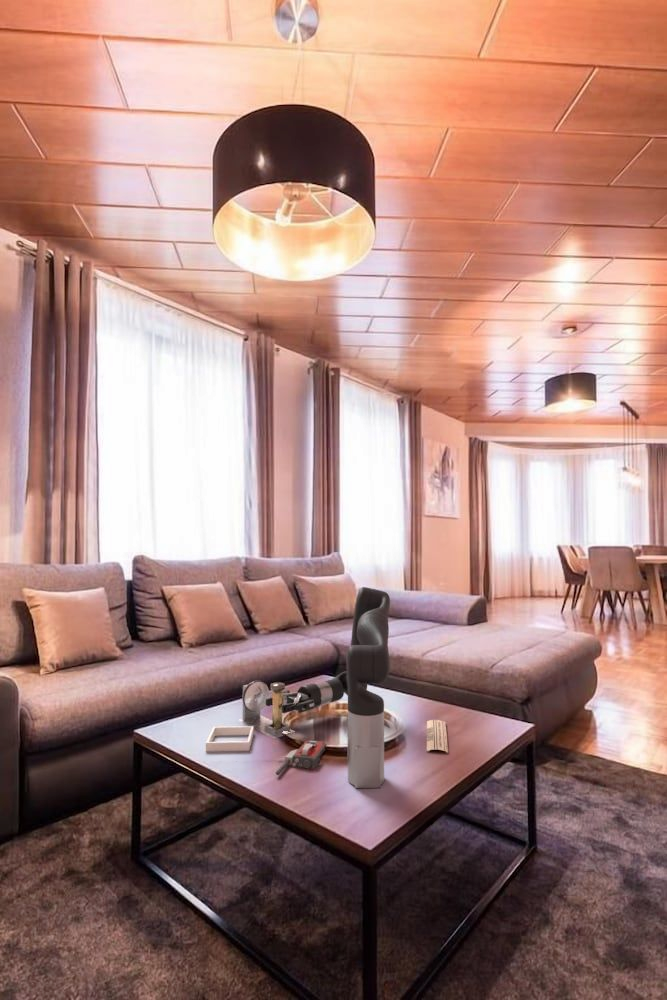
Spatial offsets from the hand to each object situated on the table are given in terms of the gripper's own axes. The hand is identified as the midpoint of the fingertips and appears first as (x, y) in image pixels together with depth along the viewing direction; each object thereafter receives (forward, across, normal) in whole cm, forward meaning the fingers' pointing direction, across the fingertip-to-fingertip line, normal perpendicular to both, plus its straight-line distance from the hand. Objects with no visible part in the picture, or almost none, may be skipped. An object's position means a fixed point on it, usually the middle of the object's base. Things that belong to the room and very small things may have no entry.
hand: (274, 706), depth 163 cm
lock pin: (-1, 0, +8) cm, 8 cm away
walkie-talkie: (+5, +20, +10) cm, 23 cm away
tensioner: (-1, -6, +9) cm, 11 cm away
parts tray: (+14, -2, +9) cm, 17 cm away
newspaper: (-36, +33, +10) cm, 50 cm away
